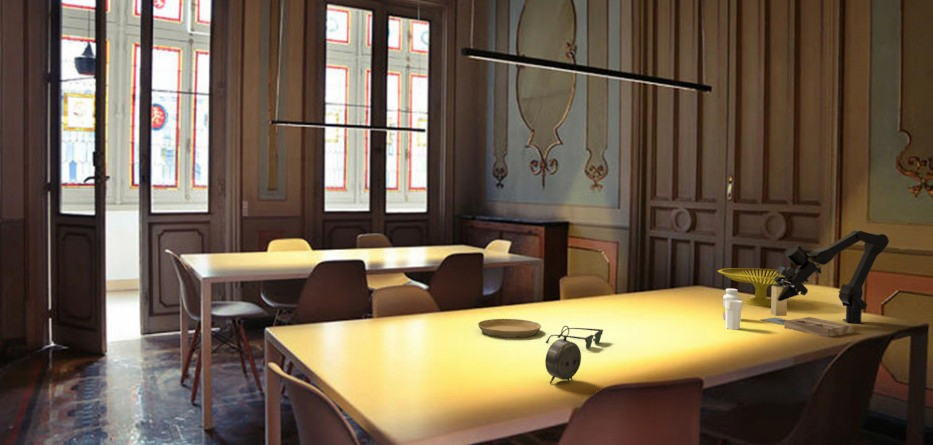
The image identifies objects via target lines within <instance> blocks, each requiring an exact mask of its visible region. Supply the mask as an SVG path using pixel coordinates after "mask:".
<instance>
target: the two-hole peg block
mask: <svg viewBox="0 0 933 445" xmlns="http://www.w3.org/2000/svg"><path fill="white" fill-rule="evenodd" d="M783 328H784V329H786V328H789V329H788V330H791V329H793V330H792V331H796V330H797V331H796V332H802V333H807V334H812V335H816V336H820V337H826V338H830V337H835V336H841V335H846V334H847V335H848V334H853V333H854V332H853V331H854V324H851V323H846V322H845V323H844V322H838V321H834V320H828V319H822V318H816V317H810V316H809V317H801V318H795V319H786V321H785V324H783Z"/></svg>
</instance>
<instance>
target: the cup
mask: <svg viewBox="0 0 933 445" xmlns="http://www.w3.org/2000/svg"><path fill="white" fill-rule="evenodd" d="M742 310H743V300H741V299H740V300H725V319H724V320H725V328H726V329H727V328H728V329H727V330H733V329H738V330H740V329H741V318H742Z"/></svg>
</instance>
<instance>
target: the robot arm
mask: <svg viewBox="0 0 933 445" xmlns="http://www.w3.org/2000/svg"><path fill="white" fill-rule="evenodd" d="M858 242H863V245H864V246H863V248H864V252H863V254H862V256H861V258H860V260H859V262H858V264H857V267H856V268H855V270H854V273H853V275H852V277H851V279H850V281H849V282H847V283H846V284H845V283H842V284H841V287H840V289H839V291H838V299H839V300H840V302H842V303H841V304H842V306H843V307H845V308H846V309H845V318H842V321H843V322H845V323H846V324H865V321H863V320H862V314H863V313H862V312H863V310H866V308H867V306H868V304H867V303H866V302H865V301H864V300H863V298H862V297H863V294H864V293H863V286H864V284H865V282H866V280H867V278H868V276H869V275H870V274H869V273H870V272H871V270H872V268H873V265H874V263H875V261H876V259H877V257H878V255H880V254H882V252H884V251H885V250H886V248H887V247H888V245H889V243H890V240H889V237H888V236H887V235H886V234H883V233H876V232H875V233H874V232H872V233H870V232H867V231H863V230H858V229H854V230H852V231H851V232H850V233H849V234H846V235H845V236H843V237H841V238H839V239H837V240H836V241H833V243H831V244H829V245H827V246H822V247H819V248H816V249H814V250H811V251H810V252H806V251H805V250H804V249H803V248H802V247H801V245H796V246H794V247H792V248H790V249H788V250H787V251H786V252H785V257H786V258H787V259H788V260H789V261H790V262H791V263H792V264H793V265H794V266H798V267H797V268H796V269H794V268H793V267H792V266H791V267H790V266H788V267H785V266H780V265H779V266H778V268H777V269H776V270H777V272H776V274H777V273H778V274H779V275H780V274H781V276H783V277H781V276H779V275H778V276H776V275H775V276H776V277H775V276H774V277H775V278H774V280H775V281H776V282H777V284H776V286H784V287H786V290H785V291H784V292H783V293H782V294H781V296H780V297H779V298H778V300H779V301H782V300H785V299H787V300H788V299H790V298H793V297H797V296H805V295H807V294H808V291H809V290H808V288H807V287H806V286H805V285H804V283H809V279H810V277H812V276H813V275H814V273H815V274H820V275H821V274H822V266H825V265H827V264H828V263H831V261H832V260H833V259H834V257H835V256H836V255H838V254H839V253H841V252H843V251H845V250H846V249H848V248H850V247H852V246H853V245H855V244H857V243H858ZM817 264H818V265H820V266H818V265H817ZM821 265H822V266H821ZM784 276H785V277H784Z"/></svg>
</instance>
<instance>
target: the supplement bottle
mask: <svg viewBox="0 0 933 445" xmlns="http://www.w3.org/2000/svg"><path fill="white" fill-rule="evenodd" d="M738 291H739V290H738V289H736V288H725V293H726V294H723V297H722V318H723V319H724V320H725V300H740V301H741V297H740V295H738Z"/></svg>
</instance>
